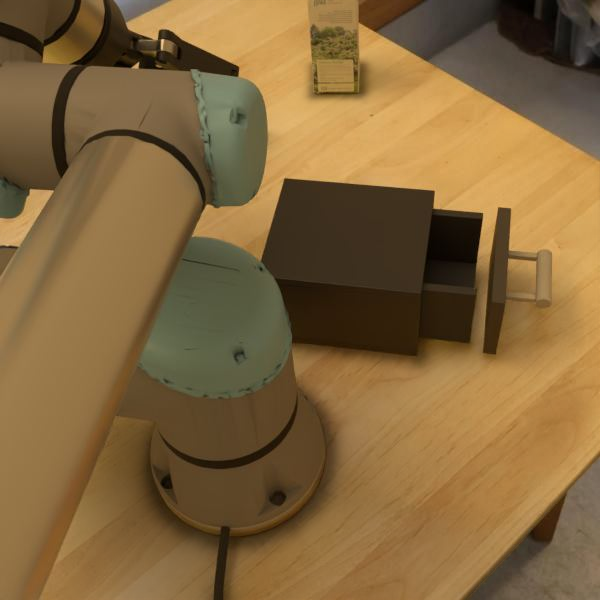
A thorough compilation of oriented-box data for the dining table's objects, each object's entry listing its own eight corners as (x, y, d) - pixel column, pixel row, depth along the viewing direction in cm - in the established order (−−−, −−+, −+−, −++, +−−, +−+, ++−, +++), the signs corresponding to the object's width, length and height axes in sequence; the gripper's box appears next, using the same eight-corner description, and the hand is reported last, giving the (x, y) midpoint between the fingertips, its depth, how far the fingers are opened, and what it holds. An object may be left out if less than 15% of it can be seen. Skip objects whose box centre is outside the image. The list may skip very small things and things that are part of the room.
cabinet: (429, 256, 88) (435, 190, 81) (417, 356, 81) (421, 293, 73) (292, 243, 91) (284, 177, 83) (267, 339, 83) (256, 276, 76)
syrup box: (360, 65, 109) (358, -40, 97) (359, 95, 105) (357, -11, 94) (315, 66, 109) (308, -39, 98) (313, 96, 106) (305, -10, 94)
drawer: (544, 266, 85) (557, 212, 79) (542, 360, 78) (556, 308, 72) (368, 249, 88) (368, 195, 82) (351, 338, 82) (349, 286, 75)
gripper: (230, -26, 60) (285, 67, 81) (-89, -38, 64) (42, 53, 85) (218, 79, 60) (277, 145, 81) (-101, 60, 64) (33, 127, 85)
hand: (156, 98), depth 83 cm, fingers open, 13 cm apart
